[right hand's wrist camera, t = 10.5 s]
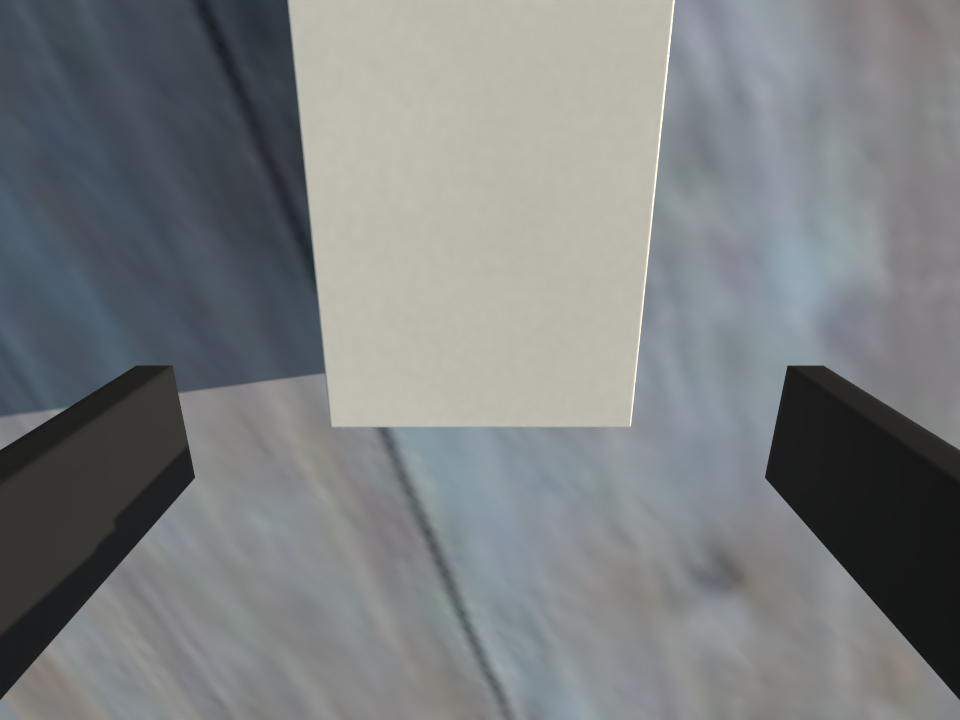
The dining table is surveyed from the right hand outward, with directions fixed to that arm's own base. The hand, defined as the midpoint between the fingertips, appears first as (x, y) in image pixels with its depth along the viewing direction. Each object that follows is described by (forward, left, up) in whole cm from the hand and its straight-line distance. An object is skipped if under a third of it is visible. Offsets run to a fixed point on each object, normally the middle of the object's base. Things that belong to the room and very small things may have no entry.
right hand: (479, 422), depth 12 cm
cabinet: (+5, +5, -17) cm, 18 cm away
